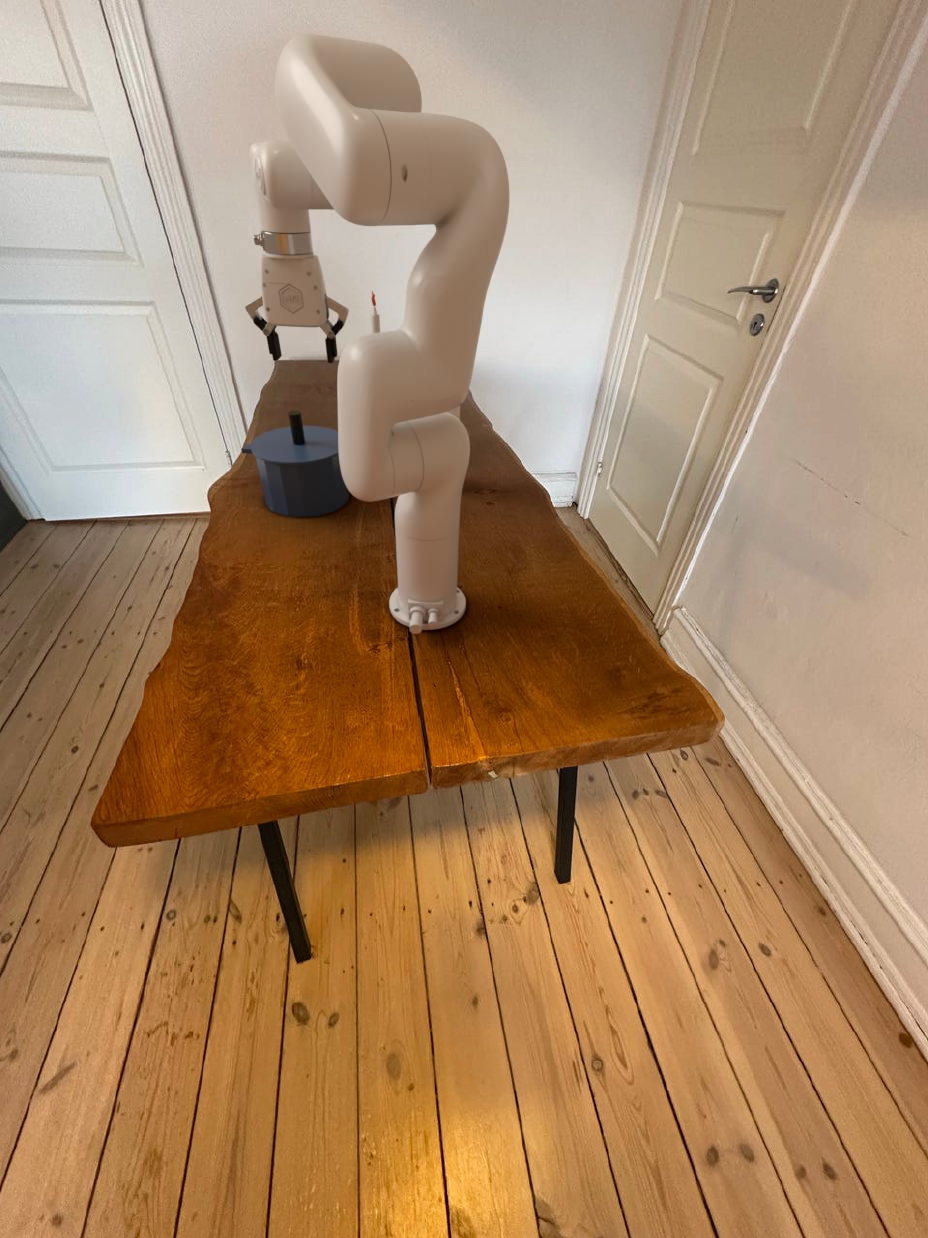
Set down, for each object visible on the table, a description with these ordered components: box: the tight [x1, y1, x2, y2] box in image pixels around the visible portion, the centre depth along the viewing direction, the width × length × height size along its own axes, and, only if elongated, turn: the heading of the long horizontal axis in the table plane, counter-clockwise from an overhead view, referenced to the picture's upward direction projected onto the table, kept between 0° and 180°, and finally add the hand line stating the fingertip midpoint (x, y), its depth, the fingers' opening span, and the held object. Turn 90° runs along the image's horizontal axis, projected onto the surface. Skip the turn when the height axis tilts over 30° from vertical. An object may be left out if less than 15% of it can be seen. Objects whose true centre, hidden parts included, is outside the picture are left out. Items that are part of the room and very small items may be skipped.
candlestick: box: [370, 290, 381, 334], centre depth 127 cm, size 11×11×35 cm
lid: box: [250, 410, 339, 465], centre depth 109 cm, size 19×19×7 cm
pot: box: [241, 443, 351, 518], centre depth 114 cm, size 18×23×12 cm
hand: (304, 359), depth 98 cm, fingers open, 9 cm apart
